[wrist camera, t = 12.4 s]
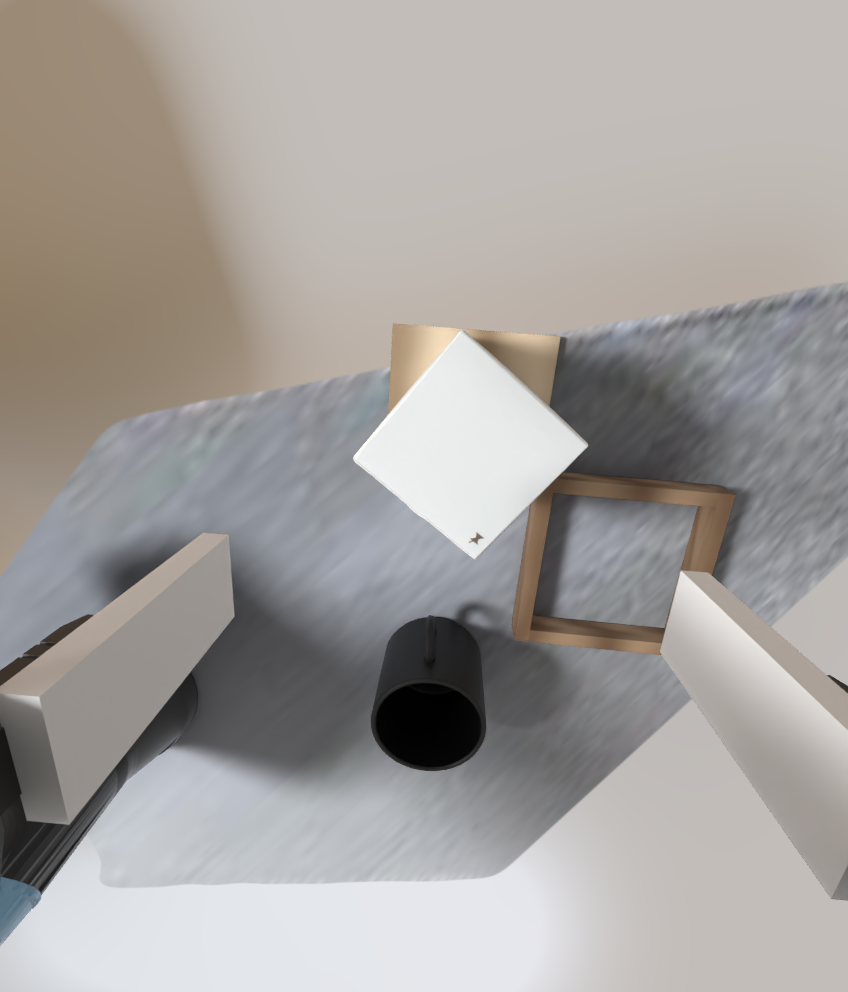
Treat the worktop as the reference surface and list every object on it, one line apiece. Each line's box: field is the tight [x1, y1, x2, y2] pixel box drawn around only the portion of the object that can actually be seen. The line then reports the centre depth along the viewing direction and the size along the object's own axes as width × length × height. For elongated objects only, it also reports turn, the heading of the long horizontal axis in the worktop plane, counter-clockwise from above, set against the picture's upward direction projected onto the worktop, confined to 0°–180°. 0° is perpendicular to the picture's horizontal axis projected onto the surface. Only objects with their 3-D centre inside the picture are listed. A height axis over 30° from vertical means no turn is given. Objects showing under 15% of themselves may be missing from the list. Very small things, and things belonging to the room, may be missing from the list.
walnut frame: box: [512, 472, 736, 655], centre depth 41 cm, size 15×15×2 cm
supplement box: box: [353, 330, 588, 559], centre depth 31 cm, size 9×9×15 cm
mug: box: [371, 615, 486, 771], centre depth 42 cm, size 9×12×9 cm
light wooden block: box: [388, 324, 560, 414], centre depth 38 cm, size 13×13×1 cm
